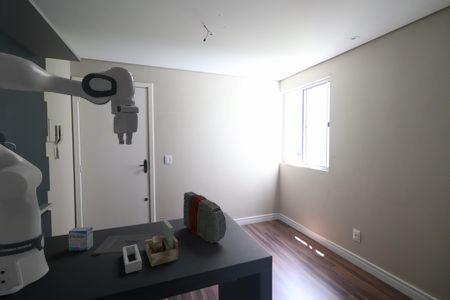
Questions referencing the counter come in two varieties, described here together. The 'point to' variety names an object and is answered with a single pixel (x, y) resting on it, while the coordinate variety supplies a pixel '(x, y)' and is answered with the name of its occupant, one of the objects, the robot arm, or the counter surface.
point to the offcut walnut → (157, 249)
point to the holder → (134, 264)
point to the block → (168, 234)
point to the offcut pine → (157, 241)
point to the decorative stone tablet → (204, 217)
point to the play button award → (121, 243)
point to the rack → (162, 256)
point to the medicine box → (80, 238)
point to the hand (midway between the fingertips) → (125, 144)
